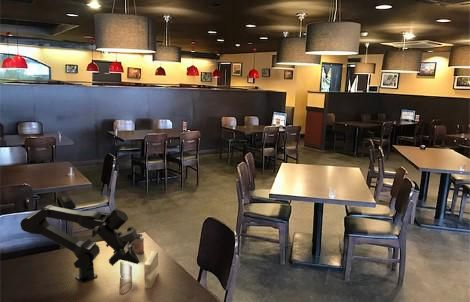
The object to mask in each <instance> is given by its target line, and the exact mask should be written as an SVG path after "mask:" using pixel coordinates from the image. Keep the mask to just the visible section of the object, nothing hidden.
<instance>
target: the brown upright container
mask: <svg viewBox="0 0 470 302" xmlns="http://www.w3.org/2000/svg"><path fill="white" fill-rule="evenodd" d="M136 233H137V235H138V236H137V238H136V239H135V240H134V241H133V242H132V243H130V244H129V245H132V244H133V243H134V247H133V250H134V252H135V254H136V256H143V255H144V254H145V250H144V249H145V248H144V247H145V246H144V244H145V243H144V242H145V237H143V233H140V232H137V231H136Z"/></svg>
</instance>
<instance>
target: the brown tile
mask: <svg viewBox="0 0 470 302" xmlns="http://www.w3.org/2000/svg"><path fill="white" fill-rule="evenodd" d="M143 273H144V274H143V275H144V288H145V289H151V288H152V287H153V284H154V283H155V281H156V279H157V277H158V274H159V251H158V250H151V252H150V254H149V255H148V257H147V259H146V260H145V262H144V263H143Z"/></svg>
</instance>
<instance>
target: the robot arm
mask: <svg viewBox="0 0 470 302" xmlns="http://www.w3.org/2000/svg"><path fill="white" fill-rule="evenodd" d="M47 218H49V219H56V220H60V221H65V222H69V223H75V224H77V225H79V226H80V227H82V228H84V229H88V230H91V233H92V234H91V237H92V238H94V237H95V236H96V235H97V236H98V237H99V238H100V239H101V240H102V241H104V243H106V244H105V247H107V248H108V247H110V248H111V249H112V250H113V252H112V253H113V254H112V255H111V257H109V259H108V263H109V264H110V266H112V267H113V266H114V265H115V264H117V263H118V262H119V261H125V262H128V263H132V264H135V265H138V264H139V263H140V259H139V258H138V255H136V254H135V252H134V250H133V247H134V243H133V244H132V245H129V244H130V243H132V242H133V241H134V240H135V239H136V238H137V236H138V235H137V233H138V232H137V229H136V228H135V227H133V226H132V225H131V226H129V227H127V228H126V231H125V232H123V233H122V231H117V230H119V229H120V228H122V226H123V225H124V224H126V223H127V221H128V220H129V217H128V215H127V213H126V212H125V211H123V210H120V209H118V208H114V209H113V210H112V211H111V212H110V213H109V214H107V213H102V212H101V211H99V210H84V211H81V210H75V209H70V208H66V207H65V208H64V207H60V206H59V207H58V206H54V205H52V204H48V205H46V206H44V207H42V209H41V210H39V211H38V212H33V213H31V214H29V215H28V216H26V217H24V218H23V219H21V221H20V223H19V224H20V227H21V228H20V229H21V230H22V231H23V232H25V233H27V234H31V235H39V236H43V237H45V238H47V239H48V240H50V241H51V242H54V243H56V244H58V245H60V246H62V247H63V248H65V249H67V250H69V251H71V252H72V253H73V254H74V256H75V257H76V260H75V261H74V263H73V265H74V267H75V269H77V270H78V274H76V275H75V276H74V277H75V279H77V280H79V281H80V282H82V283H86V282H88V281H90V280H92V279H95V278H97V277H98V274H96V273H95V268H94V260H96V259H97V257H98V256H99V254H100V253H101V249H100V247H99V245H98V244H97V242H95V241H92V240H91V239H90V238H89V239H88V238H87V239H85V240H79V239H78V238H75V237H74V236H72V235H70V234H68V233H66V232H65V231H62V230H61V229H59V228H57V227H55V226H54V225H52V224H50V223H49V222H48V220H47ZM104 223H105V224H104ZM136 232H137V233H136Z"/></svg>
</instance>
